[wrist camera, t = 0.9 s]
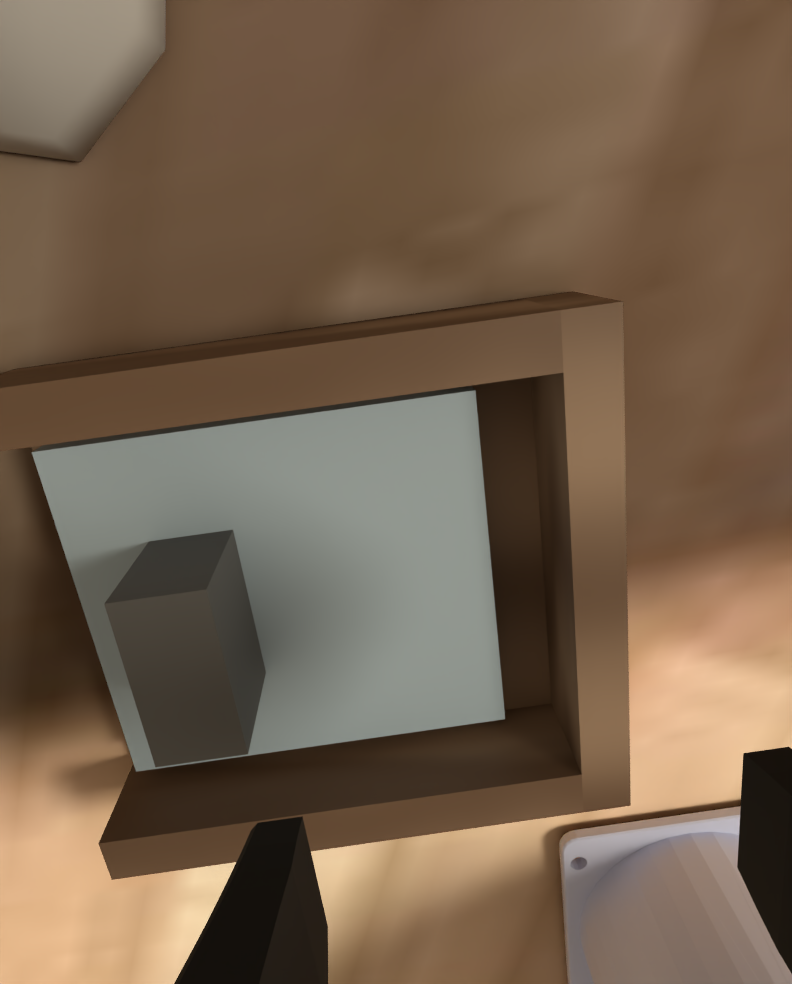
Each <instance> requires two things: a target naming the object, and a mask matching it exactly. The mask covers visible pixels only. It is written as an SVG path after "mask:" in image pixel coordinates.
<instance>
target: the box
mask: <svg viewBox="0 0 792 984" xmlns="http://www.w3.org/2000/svg"><path fill="white" fill-rule="evenodd" d="M464 386H472V387H473V388H474V389H475V391H476V402H477V413H478V424H479V435H480V446H481V457H482V469H483V480H484V491H485V502H486V513H487V524H488V535H489V546H490V557H491V568H492V579H493V590H494V601H495V612H496V623H497V634H498V645H499V656H500V667H501V678H502V689H503V700H504V711H505V719H503V720H496V721H489V722H482V723H475V724H468V725H461V726H454V727H447V728H440V729H433V730H426V731H419V732H412V733H404V734H397V735H390V736H383V737H376V738H369V739H362V740H355V741H348V742H341V743H334V744H327V745H320V746H313V747H306V748H299V749H292V750H285V751H278V752H271V753H264V754H257V755H250V756H243V757H236V758H229V759H222V760H215V761H208V762H201V763H194V764H187V765H180V766H173V767H165V768H158V769H151V770H144V771H137V772H136V770H135V767H134V764H133V766H132V769H131V771H130V773H129V775H128V778H127V780H126V782H125V785H124V787H123V789H122V791H121V794H120V796H119V798H118V801H117V803H116V805H115V807H114V810H113V812H112V814H111V817H110V819H109V821H108V823H107V826H106V828H105V830H104V833H103V835H102V837H101V840H100V842H99V846H100V849H101V851H102V854H103V857H104V859H105V862H106V865H107V868H108V870H109V873H110V876H111V878H112V880H113V879H120V878H127V877H134V876H141V875H148V874H155V873H162V872H169V871H176V870H183V869H190V868H197V867H204V866H211V865H218V864H225V863H232V862H237V860H238V858H239V856H240V854H241V852H242V849H243V847H244V845H245V843H246V840H247V838H248V836H249V834H250V831H251V830H252V829H253V828H254V826H255V825H256V824H257V823H259V822H266V821H273V820H280V819H287V818H294V817H302V816H303V821H304V825H305V829H306V834H307V838H308V843H309V847H310V851H316V850H323V849H330V848H337V847H344V846H351V845H358V844H365V843H372V842H379V841H386V840H393V839H400V838H407V837H414V836H421V835H428V834H435V833H442V832H449V831H456V830H463V829H470V828H477V827H484V826H491V825H498V824H505V823H512V822H519V821H526V820H533V819H540V818H547V817H554V816H561V815H568V814H575V813H582V812H589V811H596V810H603V809H610V808H616V807H623V806H630V739H629V672H628V606H627V539H626V472H625V406H624V339H623V301H618V300H613V299H608V298H603V297H598V296H593V295H588V294H583V293H578V292H567V293H559V294H552V295H545V296H538V297H531V298H523V299H516V300H509V301H502V302H495V303H487V304H480V305H473V306H466V307H459V308H451V309H444V310H437V311H430V312H423V313H416V314H408V315H401V316H394V317H387V318H380V319H372V320H365V321H358V322H351V323H344V324H336V325H329V326H322V327H315V328H308V329H300V330H293V331H286V332H279V333H272V334H264V335H257V336H250V337H243V338H236V339H229V340H221V341H214V342H207V343H200V344H193V345H185V346H178V347H171V348H164V349H157V350H149V351H142V352H135V353H128V354H121V355H113V356H106V357H99V358H92V359H85V360H77V361H70V362H63V363H56V364H49V365H41V366H34V367H27V368H20V369H14V370H11V371H8V372H5V373H3V374H0V451H6V450H13V449H20V448H27V447H31V449H32V452H33V451H34V450H36V449H38V448H39V447H41V446H42V445H49V444H56V443H63V442H70V441H77V440H85V439H92V438H99V437H106V436H113V435H120V434H127V433H135V432H142V431H149V430H156V429H163V428H170V427H178V426H185V425H192V424H199V423H206V422H213V421H221V420H228V419H235V418H242V417H249V416H256V415H264V414H271V413H278V412H285V411H292V410H299V409H307V408H314V407H321V406H328V405H335V404H342V403H349V402H357V401H364V400H371V399H378V398H385V397H392V396H400V395H407V394H414V393H421V392H428V391H435V390H443V389H450V388H457V387H464Z"/></svg>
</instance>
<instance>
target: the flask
mask: <svg viewBox="0 0 792 984" xmlns="http://www.w3.org/2000/svg"><path fill="white" fill-rule="evenodd" d="M165 19H166V0H0V151H4V152H12V153H19V154H26V155H34V156H41V157H48V158H56V159H63V160H71V161H78V162H81V161H82V160H83V159H84V157H85V156H86V155H87V153H88V152H89V151H90V149H91V148H92V147H93V145H94V144H95V143H96V141H97V140H98V139H99V137H100V136H101V135H102V133H103V132H104V131H105V129H106V128H107V127H108V125H109V124H110V123H111V121H112V120H113V119H114V117H115V116H116V115H117V113H118V112H119V111H120V109H121V108H122V107H123V105H124V104H125V103H126V101H127V100H128V99H129V97H130V96H131V95H132V93H133V92H134V91H135V89H136V88H137V87H138V85H139V84H140V83H141V81H142V80H143V79H144V77H145V76H146V75H147V73H148V72H149V71H150V69H151V68H152V67H153V65H154V64H155V63H156V61H157V60H158V59H159V57H160V56H161V55H162V53H163V52H164V51H165Z"/></svg>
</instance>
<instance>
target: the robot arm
mask: <svg viewBox="0 0 792 984" xmlns="http://www.w3.org/2000/svg"><path fill="white" fill-rule="evenodd" d="M559 850H560V866H561V882H562V898H563V914H564V930H565V946H566V962H567V978H568V984H792V749H791V748H789V747H785V748H778V749H771V750H764V751H757V752H750V753H744V756H743V773H742V791H741V806H739V807H732V808H725V809H718V810H711V811H704V812H697V813H690V814H683V815H676V816H669V817H662V818H655V819H648V820H641V821H634V822H627V823H620V824H613V825H606V826H599V827H592V828H585V829H578V830H573V831H569V832H567V833H566V834H564V835H563V836H562V838H561V839H560V843H559ZM577 857H580V858H577ZM575 858H577V859H575ZM174 984H328V926H327V921H326V917H325V913H324V908H323V904H322V900H321V895H320V891H319V886H318V882H317V878H316V873H315V869H314V865H313V860H312V856H311V851H310V847H309V843H308V838H307V834H306V829H305V825H304V821H303V816H302V817H294V818H287V819H280V820H273V821H266V822H259V823H257V824H256V825H255V826H254V828H253V829H252V830H251V831H250V834H249V836H248V838H247V840H246V843H245V845H244V847H243V849H242V852H241V854H240V856H239V858H238V860H237V862H236V865H235V867H234V869H233V871H232V873H231V875H230V877H229V879H228V881H227V883H226V886H225V888H224V890H223V892H222V894H221V896H220V898H219V900H218V902H217V904H216V906H215V908H214V910H213V912H212V914H211V916H210V918H209V920H208V922H207V924H206V926H205V928H204V929H203V931H202V933H201V935H200V937H199V939H198V941H197V942H196V944H195V946H194V948H193V950H192V952H191V954H190V956H189V957H188V959H187V961H186V963H185V965H184V967H183V969H182V970H181V972H180V974H179V976H178V978H177V980H176V982H175V983H174Z"/></svg>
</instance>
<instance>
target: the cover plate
mask: <svg viewBox="0 0 792 984" xmlns="http://www.w3.org/2000/svg"><path fill="white" fill-rule="evenodd" d="M32 455H33V458H34V461H35V464H36V467H37V470H38V473H39V476H40V479H41V482H42V485H43V489H44V492H45V495H46V498H47V501H48V504H49V507H50V510H51V513H52V516H53V519H54V522H55V525H56V528H57V531H58V534H59V537H60V540H61V544H62V547H63V550H64V553H65V556H66V559H67V562H68V565H69V568H70V571H71V574H72V577H73V580H74V583H75V586H76V589H77V592H78V595H79V599H80V602H81V605H82V608H83V611H84V614H85V617H86V620H87V623H88V626H89V629H90V632H91V635H92V638H93V641H94V644H95V647H96V651H97V654H98V657H99V660H100V663H101V666H102V669H103V672H104V675H105V678H106V681H107V684H108V687H109V690H110V693H111V696H112V699H113V702H114V706H115V709H116V712H117V715H118V718H119V721H120V724H121V727H122V730H123V733H124V736H125V739H126V742H127V745H128V748H129V751H130V754H131V757H132V761H133V764H134V767H135V770H136V772H137V771H144V770H151V769H158V768H165V767H173V766H180V765H187V764H194V763H201V762H208V761H215V760H222V759H229V758H236V757H243V756H250V755H257V754H264V753H271V752H278V751H285V750H292V749H299V748H306V747H313V746H320V745H327V744H334V743H341V742H348V741H355V740H362V739H369V738H376V737H383V736H390V735H397V734H404V733H412V732H419V731H426V730H433V729H440V728H447V727H454V726H461V725H468V724H475V723H482V722H489V721H496V720H503V719H505V711H504V700H503V689H502V678H501V667H500V656H499V645H498V634H497V623H496V612H495V601H494V590H493V579H492V568H491V557H490V546H489V535H488V524H487V513H486V502H485V491H484V480H483V469H482V457H481V446H480V435H479V424H478V413H477V402H476V391H475V389H474V388H473V387H472V386H464V387H457V388H450V389H443V390H435V391H428V392H421V393H414V394H407V395H400V396H392V397H385V398H378V399H371V400H364V401H357V402H349V403H342V404H335V405H328V406H321V407H314V408H307V409H299V410H292V411H285V412H278V413H271V414H264V415H256V416H249V417H242V418H235V419H228V420H221V421H213V422H206V423H199V424H192V425H185V426H178V427H170V428H163V429H156V430H149V431H142V432H135V433H127V434H120V435H113V436H106V437H99V438H92V439H85V440H77V441H70V442H63V443H56V444H49V445H42V446H41V447H39V448H38V449H36V450H34V451H33V452H32Z"/></svg>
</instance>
